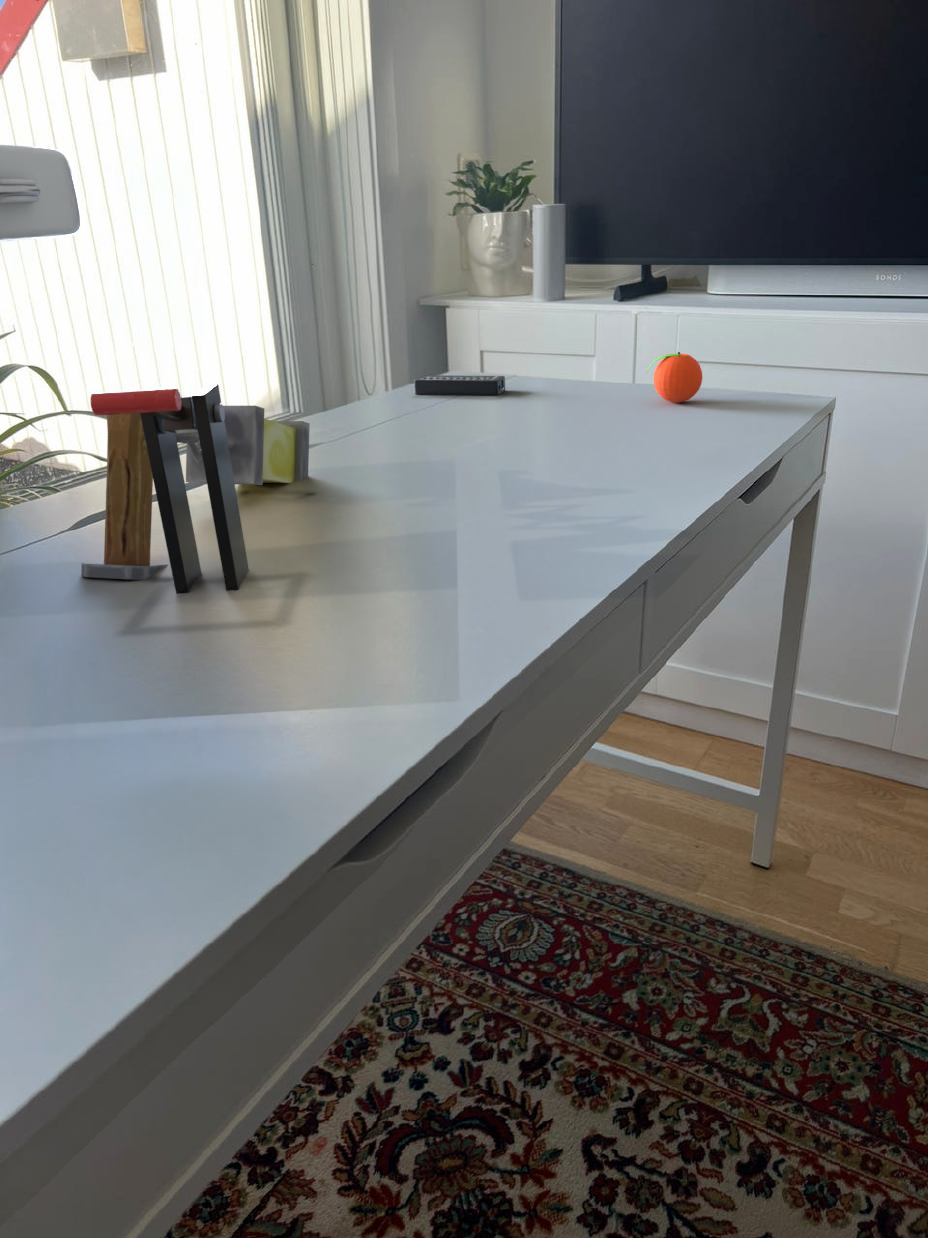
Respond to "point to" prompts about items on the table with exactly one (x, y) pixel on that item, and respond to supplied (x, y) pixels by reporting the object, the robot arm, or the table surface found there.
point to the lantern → (254, 457)
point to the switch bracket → (175, 496)
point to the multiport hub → (459, 385)
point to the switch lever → (149, 406)
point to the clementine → (677, 377)
